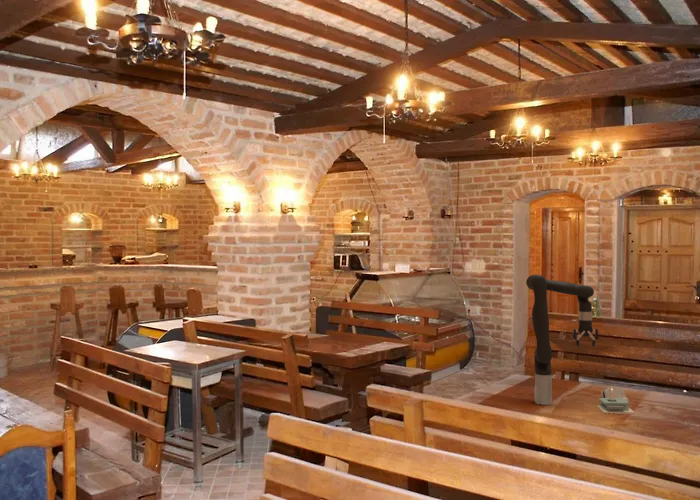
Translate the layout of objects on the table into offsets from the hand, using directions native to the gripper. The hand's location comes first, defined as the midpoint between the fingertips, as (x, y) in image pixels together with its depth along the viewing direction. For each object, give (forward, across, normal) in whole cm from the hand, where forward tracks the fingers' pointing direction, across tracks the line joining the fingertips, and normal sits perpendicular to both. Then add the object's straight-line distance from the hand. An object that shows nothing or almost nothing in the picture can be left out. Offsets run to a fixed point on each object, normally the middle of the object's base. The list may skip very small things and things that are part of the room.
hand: (585, 346), depth 377 cm
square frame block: (+32, +10, -21) cm, 40 cm away
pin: (+31, +9, -20) cm, 38 cm away
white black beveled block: (+32, +16, -3) cm, 36 cm away
